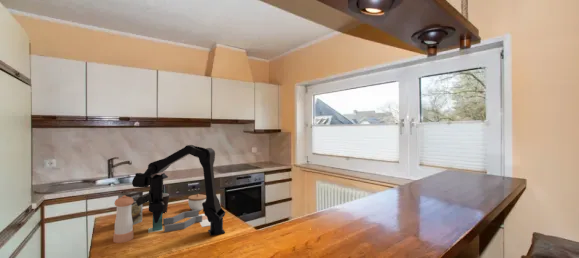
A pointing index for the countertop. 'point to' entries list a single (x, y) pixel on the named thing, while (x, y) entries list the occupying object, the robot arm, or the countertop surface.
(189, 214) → the channel
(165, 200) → the coffee mug
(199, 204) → the lidded jar
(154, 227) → the teal peg
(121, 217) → the pepper shaker
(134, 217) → the coffee box
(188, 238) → the countertop surface
